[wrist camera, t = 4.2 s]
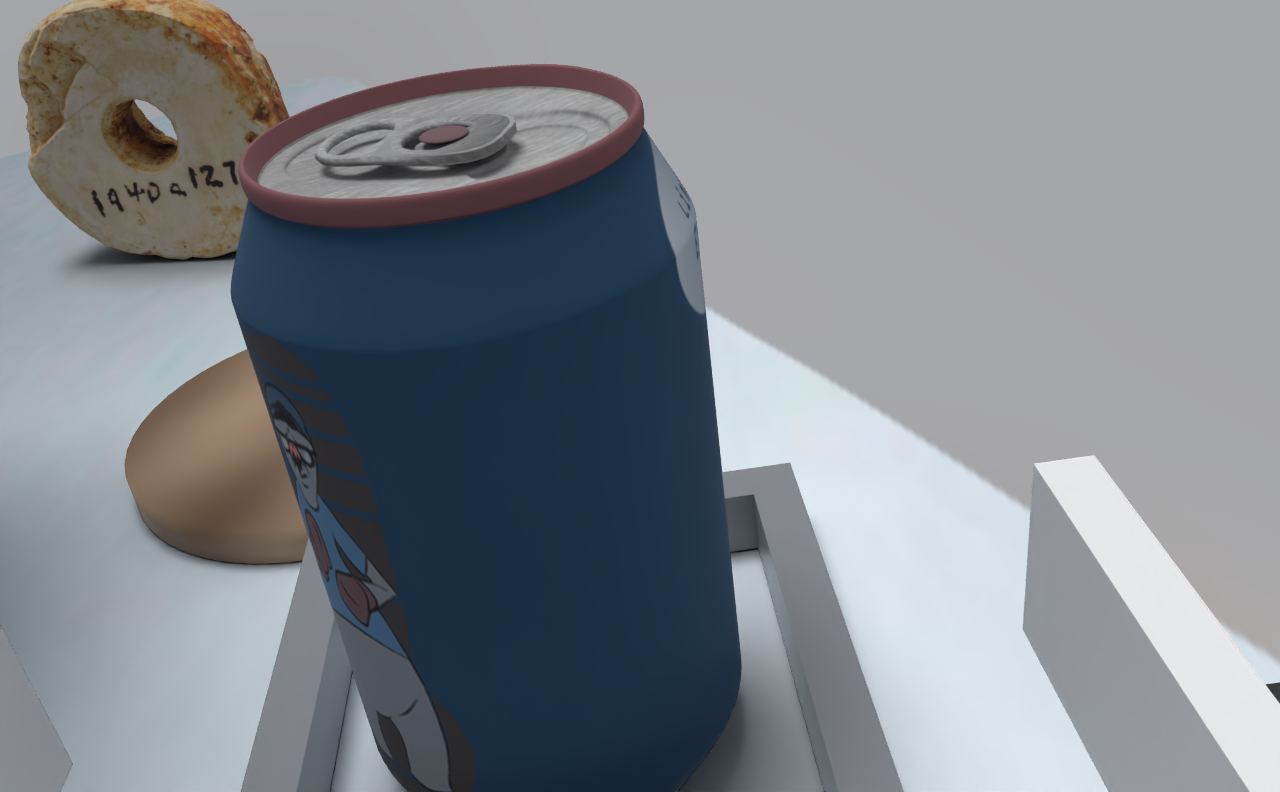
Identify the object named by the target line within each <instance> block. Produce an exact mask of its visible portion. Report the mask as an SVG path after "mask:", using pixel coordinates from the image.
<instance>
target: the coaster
mask: <svg viewBox="0 0 1280 792" xmlns="http://www.w3.org/2000/svg"><path fill="white" fill-rule="evenodd" d="M125 474H126V479H127V481H128V484H129V486H130V489H131V491H132V494H133V496H134V499H135V501H136V503H137V506H138V508H139V511H140V513H141V515H142V518H143V520H144V522H145V523H146V524H147V526H148V527H149V528H150V529H151V531H152V532H153V533H154V534H156V535H157V536H158V537H159V538H161V539H162V540H163V541H164V542H166V543H168V544H170V545H172V546H173V547H175V548H177V549H179V550H181V551H184V552H187V553H190V554H193V555H196V556H199V557H203V558H208V559H213V560H219V561H224V562H236V563H249V564H257V563H284V562H294V561H303V557H304V553H305V550H306V546H307V542H308V538H309V536H308V533H307V530H306V527H305V524H304V521H303V518H302V515H301V512H300V509H299V505H298V502H297V499H296V496H295V493H294V490H293V487H292V484H291V481H290V478H289V475H288V472H287V469H286V466H285V462H284V459H283V456H282V453H281V450H280V447H279V444H278V441H277V438H276V435H275V432H274V429H273V426H272V423H271V420H270V416H269V413H268V410H267V407H266V404H265V401H264V398H263V395H262V392H261V389H260V386H259V383H258V380H257V377H256V373H255V370H254V367H253V364H252V361H251V358H250V355H249V352H248V349H247V350H245V351H242V352H240V353H238V354H236V355H234V356H232V357H230V358H227V359H225V360H223V361H221V362H219V363H218V364H216V365H214V366H212V367H210V368H208V369H207V370H205V371H203V372H201V373H200V374H198V375H197V376H195V377H194V378H192V379H191V380H189V381H187V382H186V383H184V384H183V385H182V386H180V387H179V388H178V389H176V390H175V391H174V392H173V393H171V394H170V395H169V396H167V397H166V398H165V399H164V400H163V401H162V402H161V403H160V404H159V405H158V406H157V407H155V408H154V409H153V411H152V412H151V413H150V414H149V415H148V416H147V417H146V419H145V420H144V421H143V422H142V423H141V425H140V426H139V428H138V429H137V431H136V433H135V434H134V436H133V438H132V440H131V442H130V445H129V447H128V449H127V454H126V459H125Z"/></svg>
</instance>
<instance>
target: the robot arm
mask: <svg viewBox="0 0 1280 792" xmlns="http://www.w3.org/2000/svg"><path fill="white" fill-rule="evenodd" d="M1023 630H1024V632H1025V634H1026V636H1027V638H1028V640H1029V642H1030V644H1031V646H1032V648H1033V649H1034V651H1035V653H1036V655H1037V657H1038V659H1039V661H1040V663H1041V665H1042V666H1043V668H1044V670H1045V672H1046V674H1047V676H1048V678H1049V680H1050V682H1051V683H1052V685H1053V687H1054V689H1055V691H1056V693H1057V695H1058V697H1059V699H1060V701H1061V702H1062V704H1063V706H1064V708H1065V710H1066V712H1067V714H1068V716H1069V718H1070V719H1071V721H1072V723H1073V725H1074V727H1075V729H1076V731H1077V733H1078V735H1079V736H1080V738H1081V740H1082V742H1083V744H1084V746H1085V748H1086V750H1087V752H1088V753H1089V755H1090V757H1091V759H1092V761H1093V763H1094V765H1095V767H1096V769H1097V771H1098V772H1099V774H1100V776H1101V778H1102V780H1103V782H1104V784H1105V786H1106V788H1107V789H1108V791H1109V792H1280V683H1273V684H1266V685H1265V683H1264V682H1263V681H1262V679H1261V678H1260V677H1259V675H1258V674H1257V673H1256V671H1255V670H1254V669H1253V667H1252V666H1251V665H1250V663H1249V662H1248V661H1247V659H1246V658H1245V657H1244V655H1243V654H1242V653H1241V651H1240V650H1239V649H1238V647H1237V646H1236V645H1235V643H1234V642H1233V641H1232V639H1231V638H1230V636H1229V635H1228V634H1227V632H1226V631H1225V630H1224V628H1223V627H1222V626H1221V624H1220V623H1219V622H1218V620H1217V619H1216V618H1215V616H1214V615H1213V614H1212V612H1211V611H1210V610H1209V609H1208V607H1207V606H1206V604H1205V603H1204V602H1203V600H1202V599H1201V598H1200V596H1199V595H1198V594H1197V593H1196V591H1195V590H1194V588H1193V587H1192V586H1191V584H1190V583H1189V582H1188V580H1187V579H1186V578H1185V576H1184V575H1183V574H1182V572H1181V571H1180V570H1179V568H1178V567H1177V566H1176V564H1175V563H1174V562H1173V560H1172V559H1171V558H1170V556H1169V555H1168V554H1167V552H1166V551H1165V550H1164V548H1163V547H1162V545H1161V544H1160V543H1159V541H1158V540H1157V539H1156V538H1155V536H1154V535H1153V533H1152V532H1151V531H1150V529H1149V528H1148V527H1147V525H1146V524H1145V523H1144V521H1143V520H1142V519H1141V518H1140V516H1139V515H1138V514H1137V512H1136V511H1135V509H1134V508H1133V507H1132V505H1131V504H1130V503H1129V501H1128V500H1127V499H1126V497H1125V496H1124V495H1123V493H1122V492H1121V491H1120V489H1119V488H1118V487H1117V485H1116V484H1115V483H1114V481H1113V480H1112V479H1111V478H1110V476H1109V475H1108V473H1107V472H1106V471H1105V469H1104V468H1103V466H1102V465H1101V464H1100V463H1099V461H1098V460H1097V459H1096V457H1095V456H1094V455H1092V456H1085V457H1079V458H1071V459H1064V460H1057V461H1050V462H1043V463H1036V464H1034V467H1033V482H1032V497H1031V512H1030V528H1029V543H1028V558H1027V573H1026V588H1025V603H1024V618H1023ZM72 765H73V763H72V761H71V759H70V757H69V755H68V753H67V752H66V750H65V748H64V746H63V744H62V742H61V740H60V738H59V736H58V734H57V732H56V731H55V729H54V727H53V725H52V723H51V721H50V719H49V717H48V715H47V713H46V711H45V709H44V708H43V706H42V704H41V702H40V700H39V698H38V696H37V694H36V692H35V690H34V688H33V686H32V685H31V683H30V681H29V679H28V677H27V675H26V673H25V671H24V669H23V667H22V665H21V664H20V662H19V660H18V658H17V656H16V654H15V652H14V650H13V648H12V646H11V644H10V642H9V641H8V639H7V637H6V635H5V633H4V631H3V629H2V627H1V625H0V792H61V790H62V787H63V785H64V783H65V780H66V778H67V776H68V774H69V771H70V769H71V767H72Z"/></svg>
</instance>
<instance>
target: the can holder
mask: <svg viewBox="0 0 1280 792" xmlns="http://www.w3.org/2000/svg"><path fill="white" fill-rule="evenodd" d="M722 476H723V486H724V496H725V506H726V515H727V525H728V535H729V545H730V552H733V551H740V550H747V549H754V548H758V549H759V553H760V556H761V560H762V564H763V567H764V571H765V575H766V578H767V582H768V586H769V589H770V593H771V597H772V600H773V604H774V608H775V611H776V615H777V619H778V622H779V626H780V630H781V633H782V637H783V641H784V644H785V648H786V652H787V656H788V659H789V663H790V667H791V670H792V674H793V678H794V681H795V685H796V689H797V692H798V696H799V700H800V703H801V707H802V711H803V714H804V718H805V722H806V725H807V729H808V733H809V736H810V740H811V744H812V747H813V751H814V755H815V758H816V762H817V766H818V769H819V773H820V777H821V780H822V784H823V788H824V791H825V792H903V789H902V786H901V783H900V780H899V777H898V774H897V771H896V768H895V765H894V763H893V760H892V757H891V754H890V751H889V748H888V745H887V742H886V739H885V737H884V734H883V731H882V728H881V725H880V722H879V719H878V716H877V713H876V710H875V708H874V705H873V702H872V699H871V696H870V693H869V690H868V687H867V684H866V681H865V679H864V676H863V673H862V670H861V667H860V664H859V661H858V658H857V655H856V653H855V650H854V647H853V644H852V641H851V638H850V635H849V632H848V629H847V626H846V624H845V621H844V618H843V615H842V612H841V609H840V606H839V603H838V600H837V598H836V595H835V592H834V589H833V586H832V583H831V580H830V577H829V574H828V571H827V569H826V566H825V563H824V560H823V557H822V554H821V551H820V548H819V545H818V542H817V540H816V537H815V534H814V531H813V528H812V525H811V522H810V519H809V516H808V514H807V511H806V508H805V505H804V502H803V499H802V496H801V493H800V490H799V487H798V485H797V482H796V479H795V476H794V473H793V470H792V467H791V464H790V463H785V464H778V465H771V466H764V467H757V468H750V469H743V470H736V471H729V472H722ZM351 674H352V668H351V665H350V662H349V659H348V656H347V653H346V650H345V647H344V644H343V641H342V637H341V634H340V631H339V628H338V625H337V622H336V619H335V616H334V613H333V610H332V607H331V604H330V601H329V598H328V594H327V591H326V588H325V585H324V582H323V579H322V576H321V573H320V570H319V567H318V564H317V561H316V558H315V555H314V552H313V548H312V545H311V542H310V539H309V538H308V542H307V546H306V550H305V553H304V557H303V561H302V565H301V568H300V572H299V576H298V580H297V583H296V587H295V591H294V594H293V598H292V602H291V606H290V609H289V613H288V617H287V621H286V624H285V628H284V632H283V636H282V639H281V643H280V647H279V651H278V654H277V658H276V662H275V665H274V669H273V673H272V677H271V680H270V684H269V688H268V692H267V695H266V699H265V703H264V707H263V710H262V714H261V718H260V722H259V725H258V729H257V733H256V737H255V740H254V744H253V748H252V751H251V755H250V759H249V763H248V766H247V770H246V774H245V778H244V781H243V785H242V789H241V792H330V787H331V782H332V777H333V771H334V766H335V760H336V755H337V750H338V744H339V739H340V733H341V728H342V723H343V717H344V712H345V706H346V701H347V696H348V690H349V685H350V679H351Z"/></svg>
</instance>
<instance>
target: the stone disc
mask: <svg viewBox="0 0 1280 792" xmlns="http://www.w3.org/2000/svg"><path fill="white" fill-rule="evenodd" d="M18 72H19V82H20V89H21V94H22V97H23V98H24V100H25V101H26V103H27V105H28V113H27V115H26V118H27V128H26V129H27V131H28V132H29V134H30V135H29V136H30V146H31V153H32V154H31V156H30V158H29V161H28V168H29V170H30V173H31V175H32V177H33V179H34V180H35V182H36V184H37V185H38V187H39V188H40V189H41V191H42V192H43V193H44V194H45V195H46V197H47V198H48V199H49V200H50V201H51V202H52V203H53V204H54V205H55V206H56V207H57V208H58V209H59V210H60V211H61V212H62V213H63V214H64V215H65V216H66V217H67V218H68V219H69V220H70V221H71V222H73V223H74V224H75V225H76V226H77V227H79V228H80V229H81V230H82V231H84V232H85V233H86V234H88V235H90V236H91V237H93V238H95V239H96V240H98V241H100V242H101V243H103V244H105V245H107V246H110V247H112V248H115V249H118V250H121V251H125V252H128V253H136V254H141V255H158V256H161V257H164V258H167V259H181V260H185V259H188V258H190V257H200V258H213V257H217V256H222V255H224V254H227V253H230V252H234V251H237V248H238V243H239V239H240V234H241V229H242V225H243V220H244V215H245V211H246V206H247V201H248V198H247V197H246V195H245V193H244V191H243V189H242V186H241V183H240V179H239V174H238V165H239V161H240V158H241V156H242V154H243V152H244V151H245V150H246V148H247V147H248V146H249V145H250V144H251V143H252V142H253V141H254V140H255V139H256V138H258V137H259V136H260V135H261V134H263V133H264V132H265V131H267V130H269V129H270V128H272V127H273V126H275V125H277V124H278V123H280V122H282V121H284V120H286V119H288V118H290V117H289V114H288V112H287V110H286V107H285V105H284V102H283V100H282V96H281V93H280V90H279V87H278V84H277V82H276V81H275V78H274V76H273V73H272V71H271V69H270V66H269V64H268V62H267V60H266V58H265V57H264V56H263V55H262V54H261V53H260V52H259V51H258V50H257V49H256V48H255V45H254V43H253V39H252V38H251V37H250V36H249V35H248V34H247V33H246V31H245V30H243V29H242V28H241V26H240V25H238V24H237V23H236V22H234V21H233V20H232V18H231V17H230V15H229V14H228V13H226V12H224V11H222V10H221V9H219V8H218V7H216V6H214V5H212V4H210V3H208V2H205V1H203V0H78V1H74V2H71V3H69V4H67V5H65V6H63V7H61V8H59V9H57V10H56V11H54V12H53V13H51V14H50V15H48V16H47V17H46V18H45V19H44V20H42V21H41V22H40V23H39V24H38V25H37V26H36V27H35V28H34V29H33V30H32V32H31V33H30V34H29V35H28V37H27V38H26V40H25V42H24V45H23V47H22V50H21V53H20V56H19V61H18ZM135 99H138V100H142V101H146V102H148V103H150V104H152V105H153V106H155V107H157V108H158V109H159V110H160V111H161V112H163V113H164V114H165V115H166V116H167V118H168V119H169V120H170V121H171V123H172V125H173V128H174V130H175V133H176V135H177V139H178V141H177V140H175V139H173V138H172V137H169V136H166V135H165V134H164V133H163V132H162V131H161V130H159V129H157V128H156V127H155V126H154V125H153V124H152V123H151V122H150V121H149V120H148V119H147V118H146V117H145V115H144V114H143V112H142V111H141V110H140V109H139V108H138V106H137V105H136V103H135V101H134V100H135Z"/></svg>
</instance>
